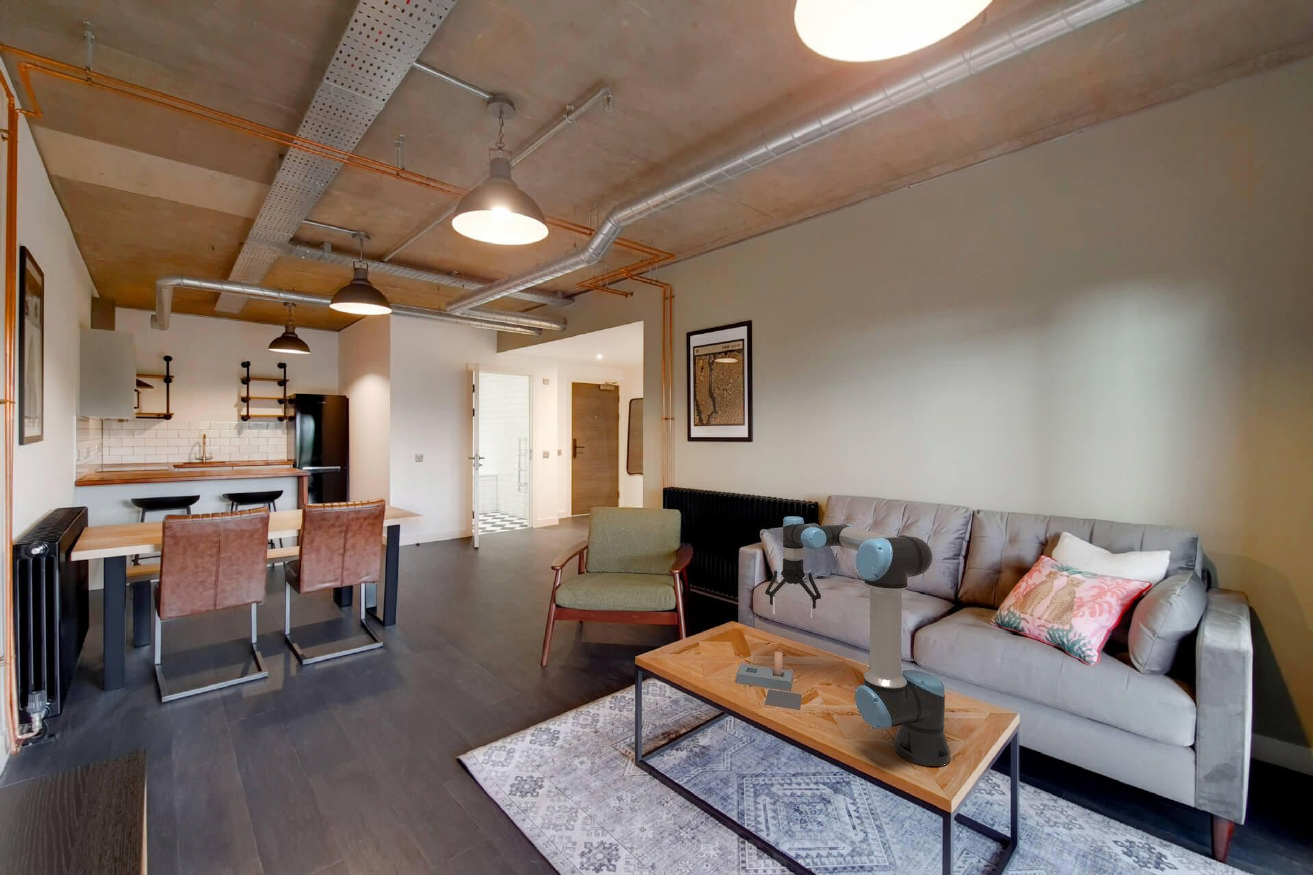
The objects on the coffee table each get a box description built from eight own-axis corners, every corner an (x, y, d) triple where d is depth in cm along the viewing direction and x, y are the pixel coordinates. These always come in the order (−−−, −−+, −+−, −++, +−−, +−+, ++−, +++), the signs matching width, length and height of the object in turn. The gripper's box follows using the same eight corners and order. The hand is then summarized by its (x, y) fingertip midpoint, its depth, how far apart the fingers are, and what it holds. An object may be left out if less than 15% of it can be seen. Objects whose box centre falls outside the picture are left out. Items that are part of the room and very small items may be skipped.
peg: (781, 686, 209) (782, 654, 209) (773, 685, 210) (774, 653, 210) (782, 683, 212) (782, 651, 212) (774, 682, 213) (774, 650, 213)
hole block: (791, 692, 205) (791, 681, 205) (736, 684, 211) (736, 673, 211) (793, 680, 214) (793, 670, 214) (740, 673, 220) (740, 663, 220)
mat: (800, 711, 191) (800, 709, 191) (764, 705, 195) (764, 704, 195) (802, 695, 203) (802, 694, 203) (768, 690, 206) (768, 689, 206)
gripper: (827, 558, 210) (827, 615, 210) (760, 554, 217) (759, 609, 217) (828, 562, 203) (827, 621, 203) (758, 558, 210) (757, 614, 210)
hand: (792, 615), depth 210 cm, fingers open, 13 cm apart
